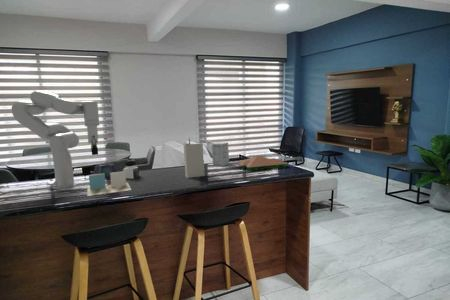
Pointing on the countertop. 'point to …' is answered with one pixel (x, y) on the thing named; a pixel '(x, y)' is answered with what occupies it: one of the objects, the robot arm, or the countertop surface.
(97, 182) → the teal square slab
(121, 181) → the beige square tile
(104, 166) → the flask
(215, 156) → the supplement box
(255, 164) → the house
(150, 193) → the countertop surface
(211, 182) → the countertop surface
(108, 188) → the board
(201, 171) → the beige box with antenna
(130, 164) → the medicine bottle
